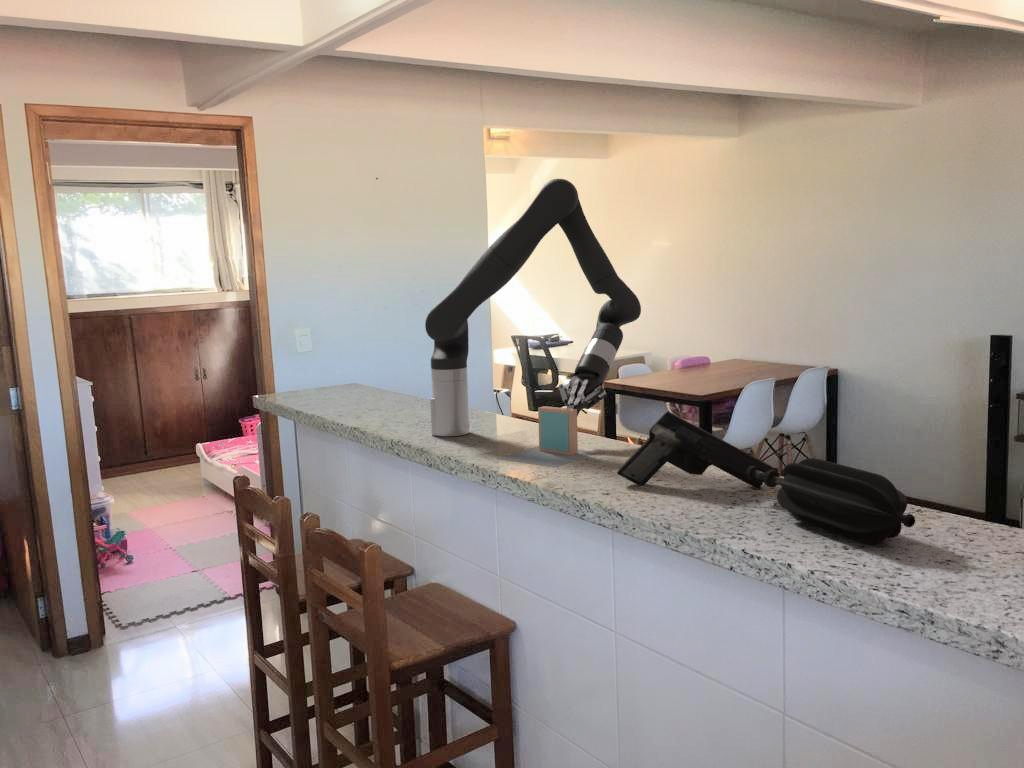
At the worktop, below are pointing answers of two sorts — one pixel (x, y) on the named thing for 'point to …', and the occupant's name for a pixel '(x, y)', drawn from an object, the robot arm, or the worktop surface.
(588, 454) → the mat
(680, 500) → the worktop surface
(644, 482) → the handgun
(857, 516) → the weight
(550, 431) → the tile
